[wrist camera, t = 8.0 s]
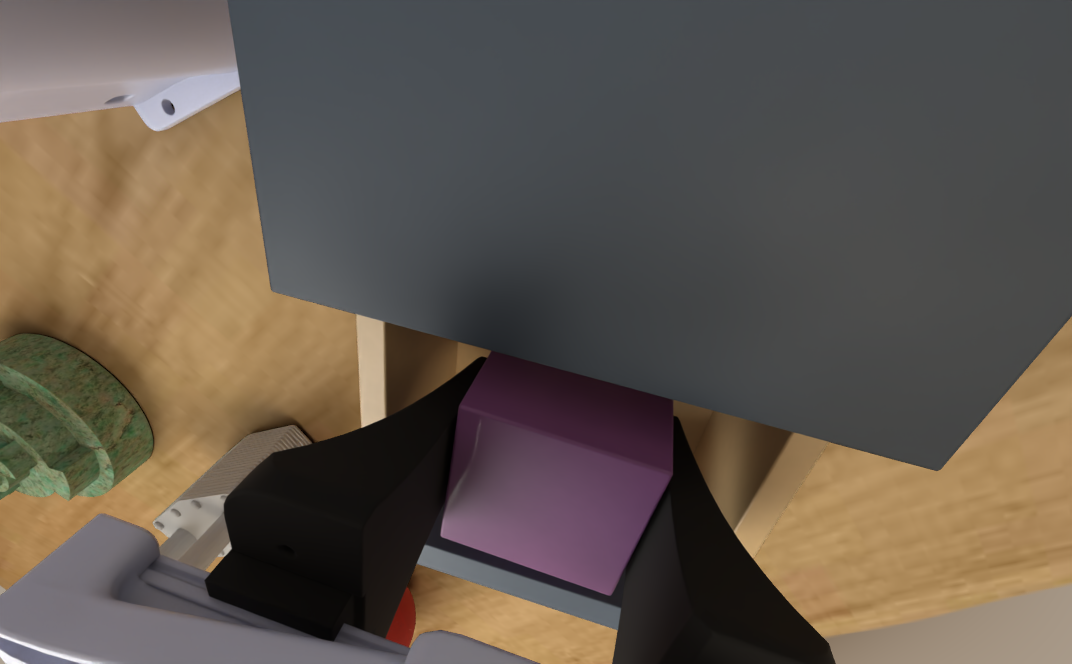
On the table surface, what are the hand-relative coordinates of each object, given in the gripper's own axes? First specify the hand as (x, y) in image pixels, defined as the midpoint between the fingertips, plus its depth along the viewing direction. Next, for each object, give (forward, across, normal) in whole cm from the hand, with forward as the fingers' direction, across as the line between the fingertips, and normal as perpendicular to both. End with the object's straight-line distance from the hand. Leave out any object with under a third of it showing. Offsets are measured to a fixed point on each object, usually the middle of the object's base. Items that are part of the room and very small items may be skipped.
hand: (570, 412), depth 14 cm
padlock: (+6, +15, +14) cm, 21 cm away
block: (+1, 0, 0) cm, 1 cm away
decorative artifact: (+6, +28, +16) cm, 33 cm away
